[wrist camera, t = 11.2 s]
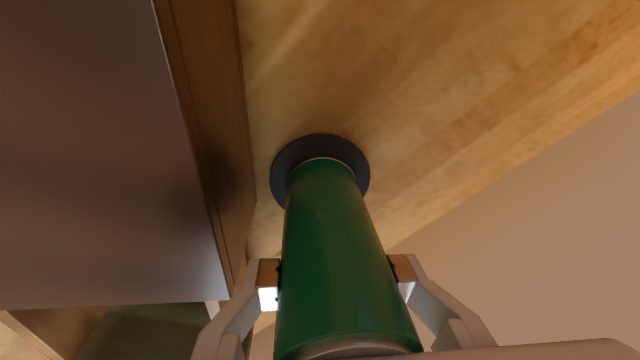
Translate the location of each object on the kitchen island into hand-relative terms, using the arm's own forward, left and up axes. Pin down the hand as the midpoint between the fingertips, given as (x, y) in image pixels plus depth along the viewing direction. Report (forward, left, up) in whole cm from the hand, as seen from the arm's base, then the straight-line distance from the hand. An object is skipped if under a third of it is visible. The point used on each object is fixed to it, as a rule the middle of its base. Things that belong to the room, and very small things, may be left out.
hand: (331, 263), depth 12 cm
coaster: (0, 0, -8) cm, 8 cm away
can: (0, 0, -8) cm, 8 cm away
